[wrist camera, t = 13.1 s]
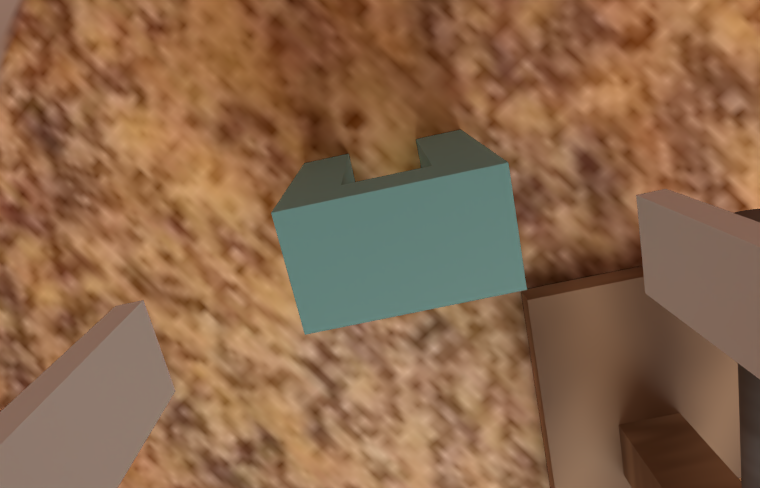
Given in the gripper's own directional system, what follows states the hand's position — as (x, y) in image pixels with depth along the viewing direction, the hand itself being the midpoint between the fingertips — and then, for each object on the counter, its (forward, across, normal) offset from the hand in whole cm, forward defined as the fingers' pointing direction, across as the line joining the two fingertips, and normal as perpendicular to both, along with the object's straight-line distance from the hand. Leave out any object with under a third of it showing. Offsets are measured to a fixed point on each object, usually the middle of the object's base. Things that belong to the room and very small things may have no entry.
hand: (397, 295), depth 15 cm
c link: (+11, 0, +1) cm, 11 cm away
